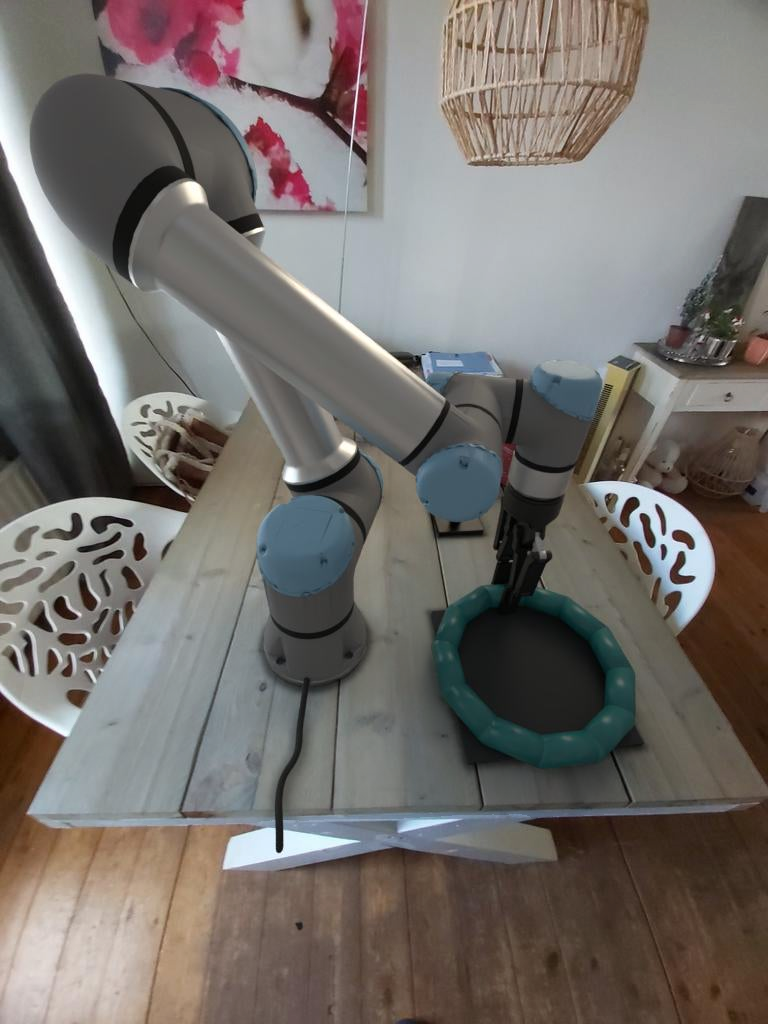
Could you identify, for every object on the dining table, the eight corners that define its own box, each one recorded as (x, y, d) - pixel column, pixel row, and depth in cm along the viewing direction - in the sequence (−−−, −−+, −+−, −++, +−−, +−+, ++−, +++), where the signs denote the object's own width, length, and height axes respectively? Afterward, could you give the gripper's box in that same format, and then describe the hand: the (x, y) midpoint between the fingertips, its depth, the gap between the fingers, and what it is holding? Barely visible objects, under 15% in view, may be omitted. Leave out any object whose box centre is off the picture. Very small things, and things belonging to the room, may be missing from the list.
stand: (483, 534, 87) (499, 465, 77) (438, 536, 86) (448, 467, 76) (470, 506, 94) (484, 439, 83) (429, 508, 93) (437, 440, 82)
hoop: (672, 758, 54) (685, 746, 52) (457, 783, 52) (462, 772, 49) (575, 587, 75) (582, 573, 73) (418, 599, 72) (420, 585, 70)
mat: (642, 745, 56) (644, 743, 56) (468, 764, 54) (468, 762, 53) (565, 603, 74) (566, 601, 74) (431, 613, 71) (431, 610, 71)
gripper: (594, 524, 51) (543, 642, 66) (539, 450, 64) (507, 563, 79) (532, 528, 50) (495, 647, 65) (489, 452, 63) (466, 566, 78)
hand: (502, 601), depth 72 cm, fingers closed on hoop, 3 cm apart
